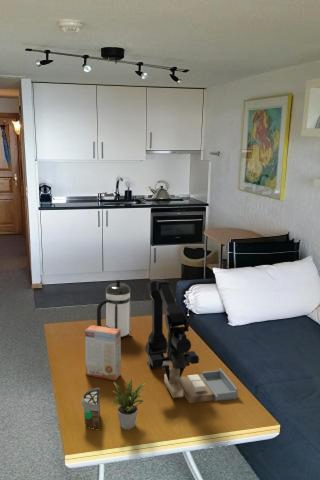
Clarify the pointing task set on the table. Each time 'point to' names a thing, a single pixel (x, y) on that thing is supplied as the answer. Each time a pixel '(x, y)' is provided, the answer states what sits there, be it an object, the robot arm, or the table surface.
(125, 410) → the house plant
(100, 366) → the cracker box
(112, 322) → the coffee press
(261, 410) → the table surface
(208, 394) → the tan flat block
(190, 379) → the cream tile
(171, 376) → the beige l-shaped block
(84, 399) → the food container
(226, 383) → the grey tray
